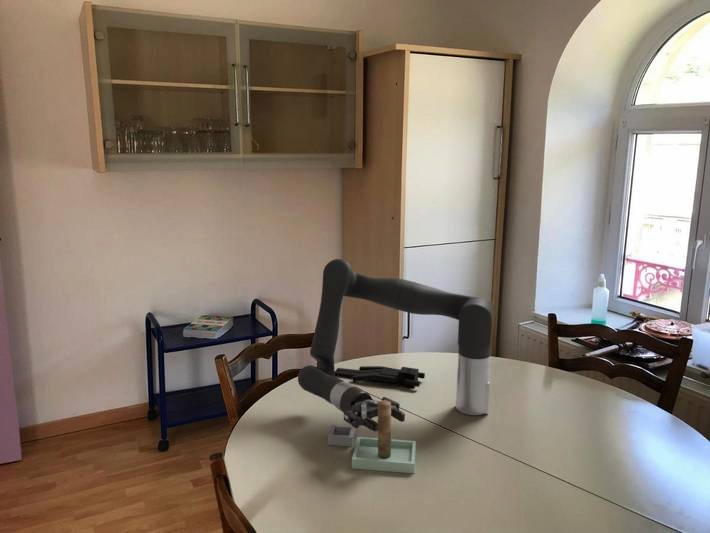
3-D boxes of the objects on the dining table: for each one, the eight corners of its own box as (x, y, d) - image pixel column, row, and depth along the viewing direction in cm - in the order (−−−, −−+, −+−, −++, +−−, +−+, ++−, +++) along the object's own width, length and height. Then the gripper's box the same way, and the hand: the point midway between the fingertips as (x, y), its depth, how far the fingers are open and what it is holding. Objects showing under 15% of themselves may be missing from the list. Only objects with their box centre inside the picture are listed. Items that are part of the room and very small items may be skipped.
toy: (332, 391, 198) (419, 393, 187) (329, 374, 197) (417, 375, 186) (341, 379, 206) (426, 381, 196) (339, 363, 205) (424, 363, 194)
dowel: (391, 452, 149) (391, 400, 146) (390, 458, 146) (390, 406, 143) (378, 451, 149) (378, 400, 146) (377, 458, 146) (377, 406, 143)
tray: (415, 450, 152) (416, 441, 152) (414, 473, 142) (414, 463, 141) (357, 445, 154) (357, 436, 154) (351, 468, 143) (351, 458, 143)
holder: (355, 434, 160) (355, 426, 159) (352, 446, 154) (352, 437, 153) (332, 433, 161) (332, 424, 160) (327, 444, 154) (327, 435, 154)
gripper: (328, 393, 152) (367, 416, 139) (371, 380, 160) (412, 401, 148) (328, 420, 153) (367, 445, 141) (371, 406, 162) (411, 428, 149)
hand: (390, 422), depth 144 cm, fingers open, 8 cm apart
